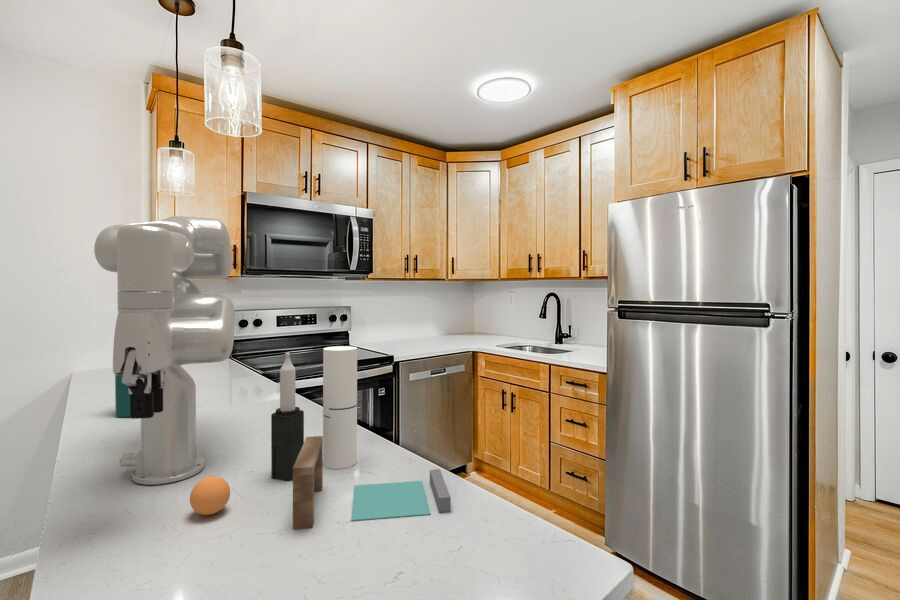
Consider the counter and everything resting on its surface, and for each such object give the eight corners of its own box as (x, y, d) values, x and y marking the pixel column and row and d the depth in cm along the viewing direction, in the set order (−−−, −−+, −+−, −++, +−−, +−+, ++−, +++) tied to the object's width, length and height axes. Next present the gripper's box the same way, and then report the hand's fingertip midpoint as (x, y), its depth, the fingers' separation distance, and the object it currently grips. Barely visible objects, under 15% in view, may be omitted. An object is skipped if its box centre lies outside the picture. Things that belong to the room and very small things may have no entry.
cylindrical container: (348, 470, 93) (348, 351, 92) (317, 467, 95) (317, 349, 94) (361, 457, 100) (362, 346, 99) (332, 455, 101) (332, 345, 101)
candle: (306, 471, 92) (306, 351, 92) (289, 481, 87) (289, 354, 87) (286, 468, 94) (285, 350, 93) (268, 478, 89) (268, 353, 88)
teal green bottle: (140, 418, 129) (140, 342, 128) (111, 417, 129) (111, 342, 128) (163, 409, 139) (162, 338, 138) (136, 408, 139) (135, 338, 138)
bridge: (292, 529, 70) (292, 468, 70) (306, 487, 85) (306, 436, 85) (312, 527, 71) (312, 467, 71) (322, 486, 86) (322, 436, 85)
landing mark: (351, 521, 73) (351, 519, 73) (354, 486, 86) (354, 485, 86) (430, 514, 75) (430, 513, 75) (421, 481, 88) (421, 480, 88)
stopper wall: (438, 512, 76) (438, 498, 76) (429, 482, 88) (429, 469, 88) (450, 511, 76) (450, 497, 76) (439, 481, 88) (439, 469, 88)
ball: (183, 523, 72) (183, 486, 71) (197, 505, 78) (197, 471, 77) (223, 520, 73) (223, 484, 73) (234, 503, 79) (234, 469, 78)
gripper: (145, 301, 80) (146, 403, 80) (89, 304, 64) (91, 431, 64) (191, 301, 81) (191, 401, 82) (147, 304, 65) (148, 429, 66)
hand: (147, 414), depth 73 cm, fingers open, 2 cm apart
